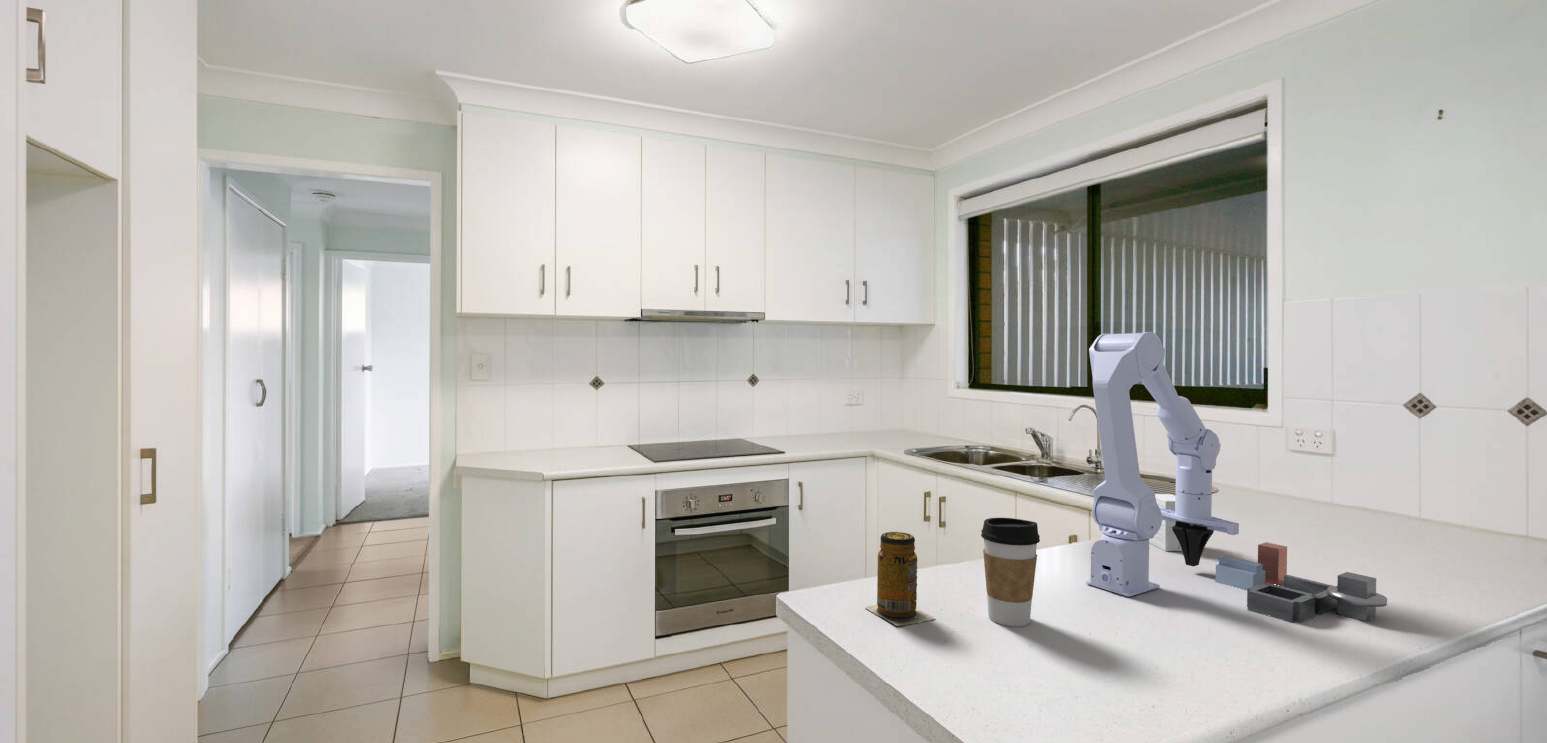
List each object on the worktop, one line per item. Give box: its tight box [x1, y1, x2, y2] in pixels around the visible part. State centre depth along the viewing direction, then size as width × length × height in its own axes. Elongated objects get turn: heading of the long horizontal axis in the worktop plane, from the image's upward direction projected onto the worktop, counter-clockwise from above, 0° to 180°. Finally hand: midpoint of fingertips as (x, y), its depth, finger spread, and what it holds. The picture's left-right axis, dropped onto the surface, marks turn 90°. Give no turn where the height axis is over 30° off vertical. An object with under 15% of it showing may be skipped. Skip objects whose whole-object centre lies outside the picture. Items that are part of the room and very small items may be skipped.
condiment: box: [864, 531, 936, 626], centre depth 103 cm, size 7×8×12 cm
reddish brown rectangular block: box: [1257, 542, 1288, 586], centre depth 120 cm, size 3×3×6 cm
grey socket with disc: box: [1246, 571, 1388, 623], centre depth 105 cm, size 17×14×6 cm
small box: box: [1149, 493, 1182, 552], centre depth 142 cm, size 8×6×10 cm
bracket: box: [1215, 555, 1265, 591], centre depth 118 cm, size 4×6×4 cm, turn 29°
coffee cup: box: [980, 517, 1041, 627], centre depth 101 cm, size 8×8×15 cm
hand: (1192, 564), depth 125 cm, fingers closed
